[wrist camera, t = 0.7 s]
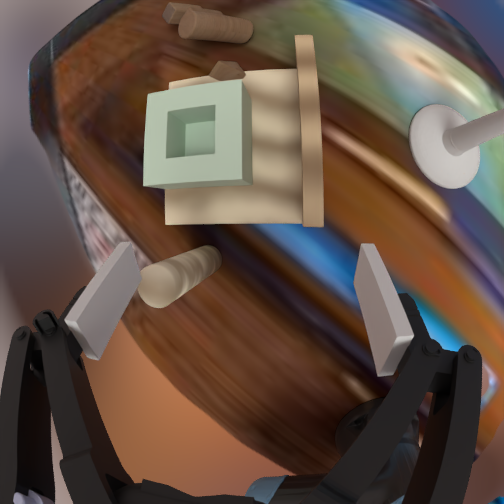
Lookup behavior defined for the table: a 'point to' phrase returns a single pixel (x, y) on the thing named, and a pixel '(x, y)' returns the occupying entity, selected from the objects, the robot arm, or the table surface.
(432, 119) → the candlestick
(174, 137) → the sliding block
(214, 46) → the table surface
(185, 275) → the dowel
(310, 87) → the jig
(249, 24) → the wooden block set
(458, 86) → the table surface
